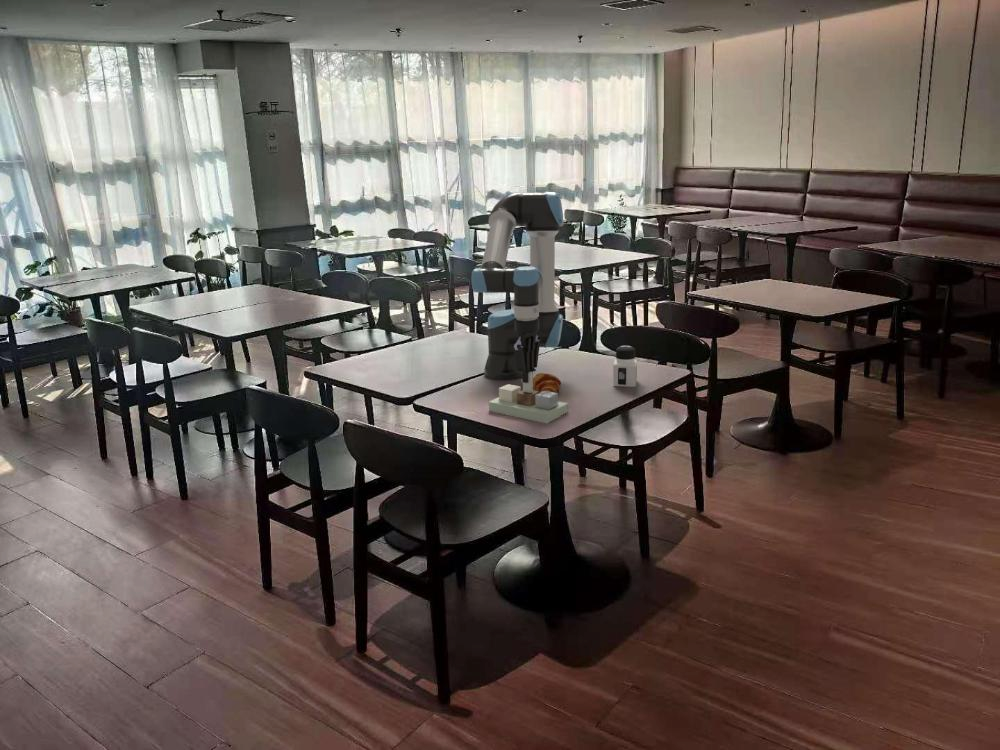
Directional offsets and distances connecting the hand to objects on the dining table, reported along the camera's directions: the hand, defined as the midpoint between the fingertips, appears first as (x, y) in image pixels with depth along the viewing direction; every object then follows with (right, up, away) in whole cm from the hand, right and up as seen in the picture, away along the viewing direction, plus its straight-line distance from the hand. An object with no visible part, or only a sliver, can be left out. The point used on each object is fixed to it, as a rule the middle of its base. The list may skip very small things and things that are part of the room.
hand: (527, 391), depth 253 cm
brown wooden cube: (0, -5, +2) cm, 5 cm away
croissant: (+7, -1, +22) cm, 23 cm away
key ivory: (-5, -4, +6) cm, 9 cm away
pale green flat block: (0, -6, +2) cm, 7 cm away
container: (+35, +2, +27) cm, 44 cm away
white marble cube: (+6, -6, -2) cm, 8 cm away
